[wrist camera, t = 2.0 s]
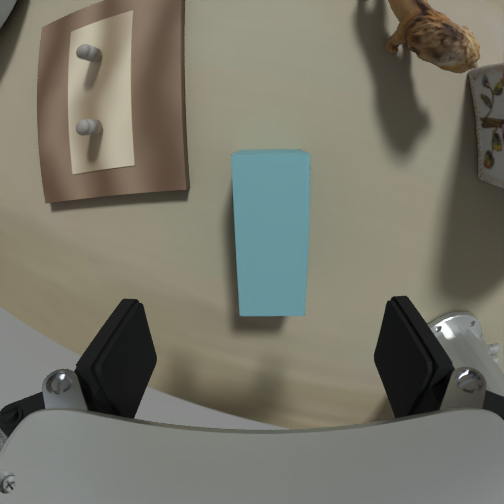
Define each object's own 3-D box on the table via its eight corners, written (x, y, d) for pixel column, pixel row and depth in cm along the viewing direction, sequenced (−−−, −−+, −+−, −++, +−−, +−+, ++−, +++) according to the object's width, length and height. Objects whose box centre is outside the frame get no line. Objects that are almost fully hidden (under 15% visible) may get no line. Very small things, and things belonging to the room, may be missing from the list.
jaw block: (300, 149, 24) (310, 153, 18) (298, 280, 28) (304, 315, 23) (240, 150, 24) (231, 154, 18) (245, 280, 28) (239, 316, 23)
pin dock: (185, -16, 18) (172, -37, 14) (189, 187, 25) (175, 197, 21) (48, 29, 19) (24, 22, 15) (52, 200, 26) (26, 211, 22)
